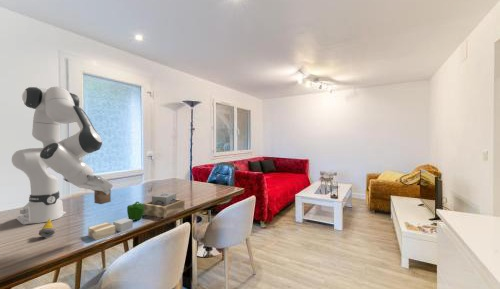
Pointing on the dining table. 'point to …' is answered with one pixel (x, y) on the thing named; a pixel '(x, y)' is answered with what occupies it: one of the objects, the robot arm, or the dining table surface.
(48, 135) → the robot arm
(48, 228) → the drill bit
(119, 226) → the grey painted block
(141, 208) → the bell pepper
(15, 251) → the dining table surface
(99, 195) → the walnut block
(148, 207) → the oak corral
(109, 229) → the maple block
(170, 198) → the icon cube
